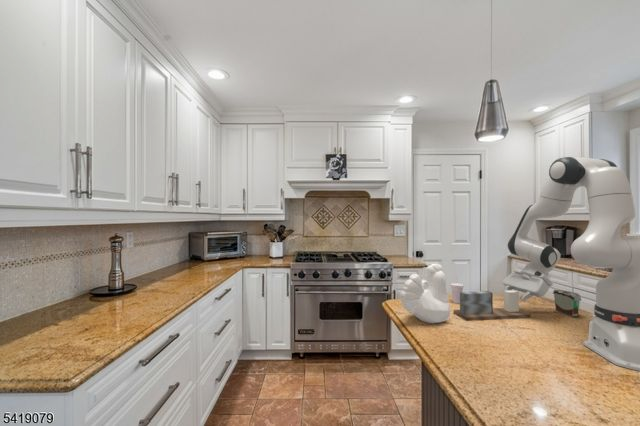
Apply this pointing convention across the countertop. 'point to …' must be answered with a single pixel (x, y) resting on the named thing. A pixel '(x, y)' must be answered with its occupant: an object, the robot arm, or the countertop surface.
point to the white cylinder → (511, 301)
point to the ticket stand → (483, 308)
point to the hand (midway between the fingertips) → (513, 297)
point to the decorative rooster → (427, 295)
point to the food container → (567, 302)
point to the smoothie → (456, 291)
